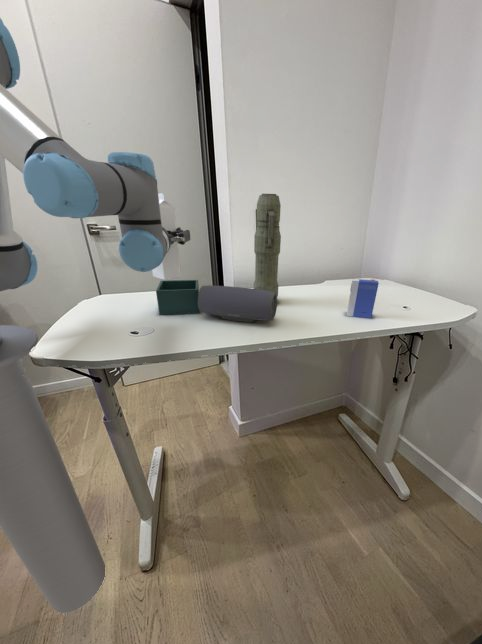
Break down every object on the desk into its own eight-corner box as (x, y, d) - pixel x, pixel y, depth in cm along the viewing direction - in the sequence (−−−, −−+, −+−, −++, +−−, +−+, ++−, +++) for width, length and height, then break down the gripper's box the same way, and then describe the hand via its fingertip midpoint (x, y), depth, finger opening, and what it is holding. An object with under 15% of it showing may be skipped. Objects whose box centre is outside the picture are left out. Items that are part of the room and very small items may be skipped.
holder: (159, 314, 92) (155, 290, 88) (163, 302, 103) (160, 280, 99) (199, 313, 94) (198, 289, 91) (199, 301, 105) (198, 279, 102)
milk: (164, 280, 83) (153, 193, 73) (152, 276, 87) (139, 193, 76) (182, 276, 88) (173, 193, 77) (169, 273, 91) (159, 193, 81)
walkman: (370, 315, 97) (378, 279, 91) (371, 318, 94) (379, 281, 89) (346, 313, 98) (352, 277, 93) (346, 315, 96) (352, 279, 90)
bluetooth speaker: (276, 318, 92) (278, 287, 88) (270, 329, 84) (271, 295, 80) (210, 310, 97) (208, 280, 92) (198, 320, 89) (195, 287, 84)
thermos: (271, 296, 113) (276, 194, 97) (282, 306, 103) (289, 194, 87) (249, 297, 111) (250, 193, 95) (258, 307, 101) (260, 193, 84)
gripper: (106, 259, 66) (128, 245, 86) (200, 259, 70) (201, 245, 89) (98, 223, 62) (123, 217, 82) (198, 225, 66) (199, 218, 86)
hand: (163, 232), depth 86 cm, fingers closed on milk, 8 cm apart
